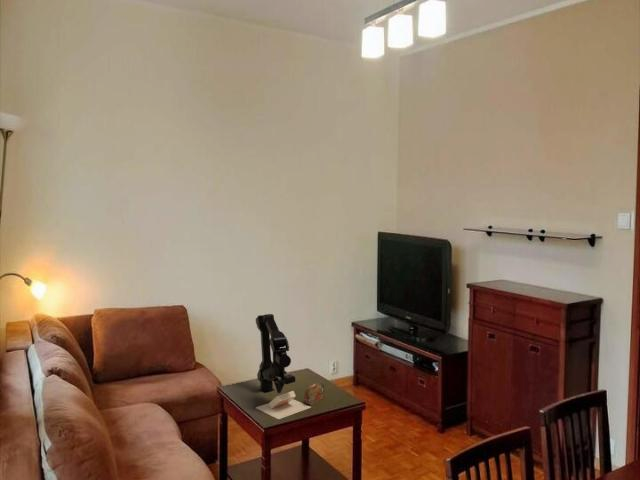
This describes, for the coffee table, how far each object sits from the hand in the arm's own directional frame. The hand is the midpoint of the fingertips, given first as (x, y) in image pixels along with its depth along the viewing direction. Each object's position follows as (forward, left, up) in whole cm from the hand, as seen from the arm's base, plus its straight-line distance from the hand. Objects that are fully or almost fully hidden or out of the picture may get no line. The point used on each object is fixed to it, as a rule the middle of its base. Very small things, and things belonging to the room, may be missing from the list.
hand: (279, 393), depth 256 cm
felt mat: (+3, 0, -7) cm, 7 cm away
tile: (-1, 0, -5) cm, 5 cm away
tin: (+7, +17, -7) cm, 19 cm away
